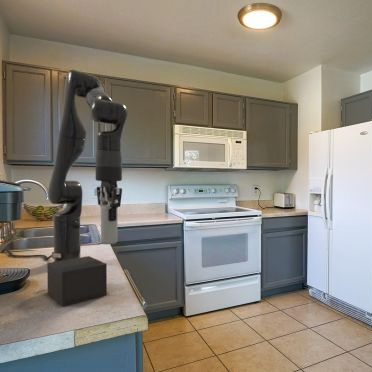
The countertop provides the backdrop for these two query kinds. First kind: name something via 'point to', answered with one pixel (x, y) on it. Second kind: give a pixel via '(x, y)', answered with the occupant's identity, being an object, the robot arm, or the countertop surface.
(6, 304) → the countertop surface
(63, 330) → the countertop surface
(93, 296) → the dark grey lidded box
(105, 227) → the beverage can
